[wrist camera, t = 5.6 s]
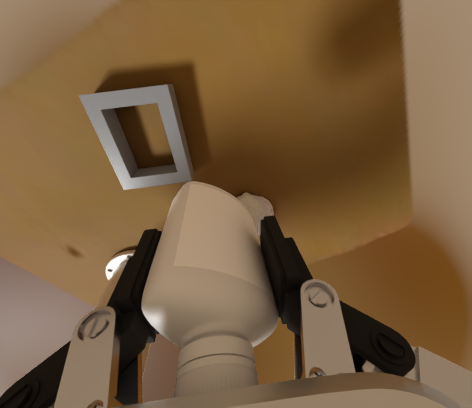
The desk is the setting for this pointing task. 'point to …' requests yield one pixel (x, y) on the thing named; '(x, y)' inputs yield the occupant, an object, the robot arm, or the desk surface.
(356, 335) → the robot arm
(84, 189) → the desk surface
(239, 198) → the seashell
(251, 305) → the eye dropper bottle
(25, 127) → the desk surface
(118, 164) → the bottle holder
